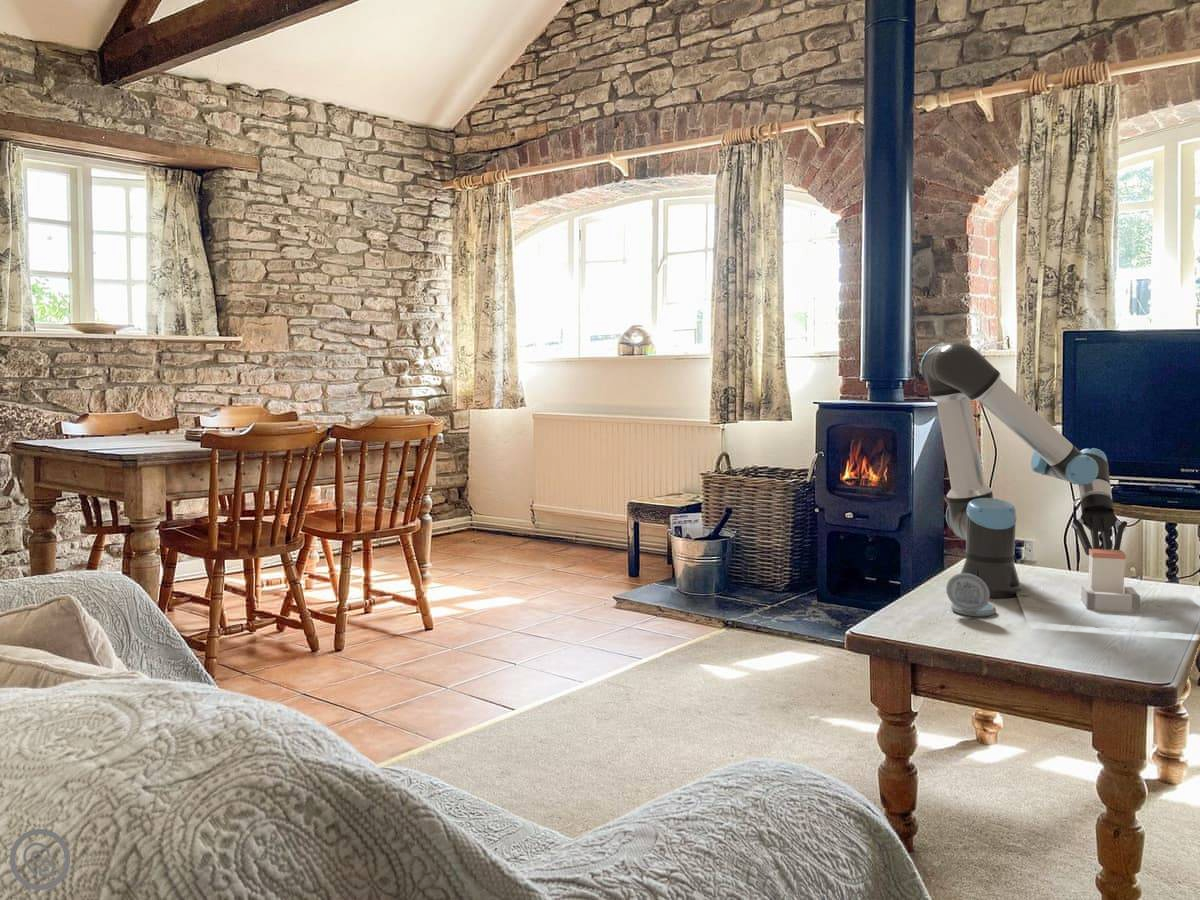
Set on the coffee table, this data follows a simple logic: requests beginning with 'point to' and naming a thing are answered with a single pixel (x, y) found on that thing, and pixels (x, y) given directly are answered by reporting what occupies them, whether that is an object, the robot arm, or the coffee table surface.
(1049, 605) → the coffee table surface
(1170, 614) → the coffee table surface
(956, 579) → the embossed oval plaque stand
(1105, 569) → the orange-topped white block
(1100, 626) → the coffee table surface
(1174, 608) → the coffee table surface
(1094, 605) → the base
